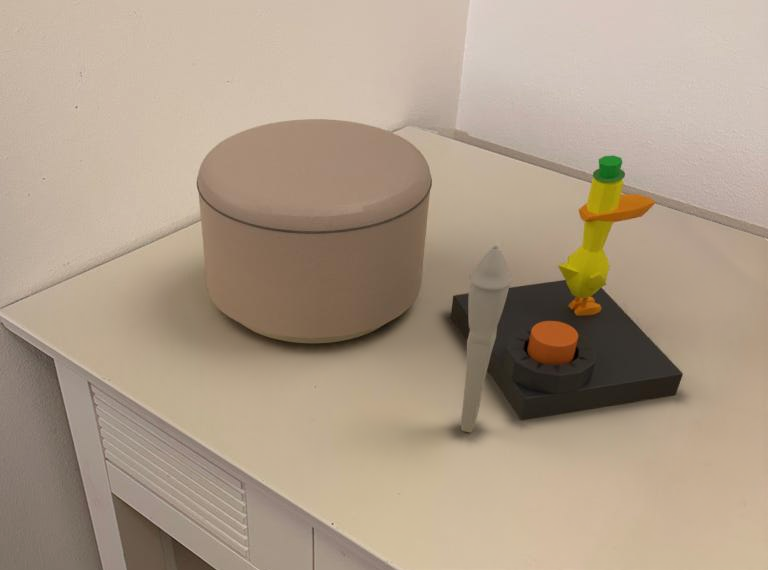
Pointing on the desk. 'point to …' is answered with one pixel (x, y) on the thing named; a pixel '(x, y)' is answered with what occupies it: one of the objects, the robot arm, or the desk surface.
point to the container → (314, 228)
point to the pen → (483, 327)
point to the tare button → (552, 343)
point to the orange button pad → (591, 358)
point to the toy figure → (599, 233)
